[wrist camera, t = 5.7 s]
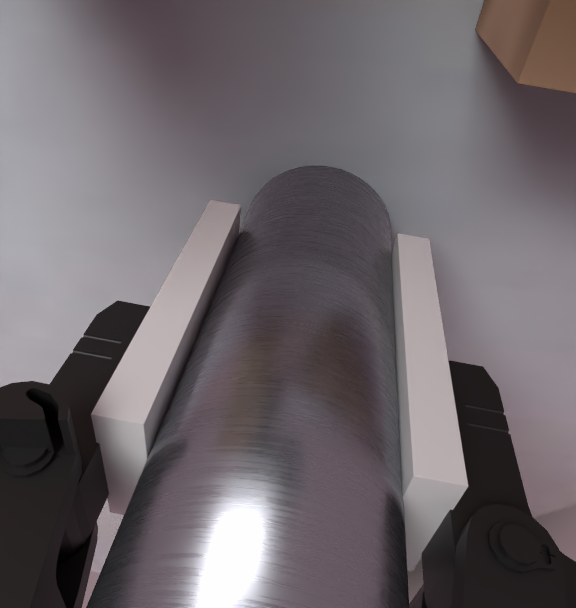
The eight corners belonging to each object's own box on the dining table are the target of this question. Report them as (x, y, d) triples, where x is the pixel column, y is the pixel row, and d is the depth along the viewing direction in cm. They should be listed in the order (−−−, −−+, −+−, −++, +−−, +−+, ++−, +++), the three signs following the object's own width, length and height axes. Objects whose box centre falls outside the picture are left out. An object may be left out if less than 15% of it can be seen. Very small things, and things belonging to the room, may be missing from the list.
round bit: (253, 153, 13) (-72, 819, 3) (408, 180, 13) (499, 942, 3) (242, 278, 15) (36, 858, 6) (371, 302, 15) (367, 929, 6)
